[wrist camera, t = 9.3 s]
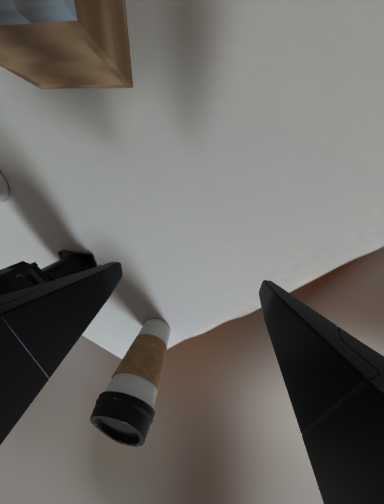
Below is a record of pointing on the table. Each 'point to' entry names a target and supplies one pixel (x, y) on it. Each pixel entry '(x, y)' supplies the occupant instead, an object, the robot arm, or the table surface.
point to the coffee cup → (134, 388)
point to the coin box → (66, 43)
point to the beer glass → (3, 189)
